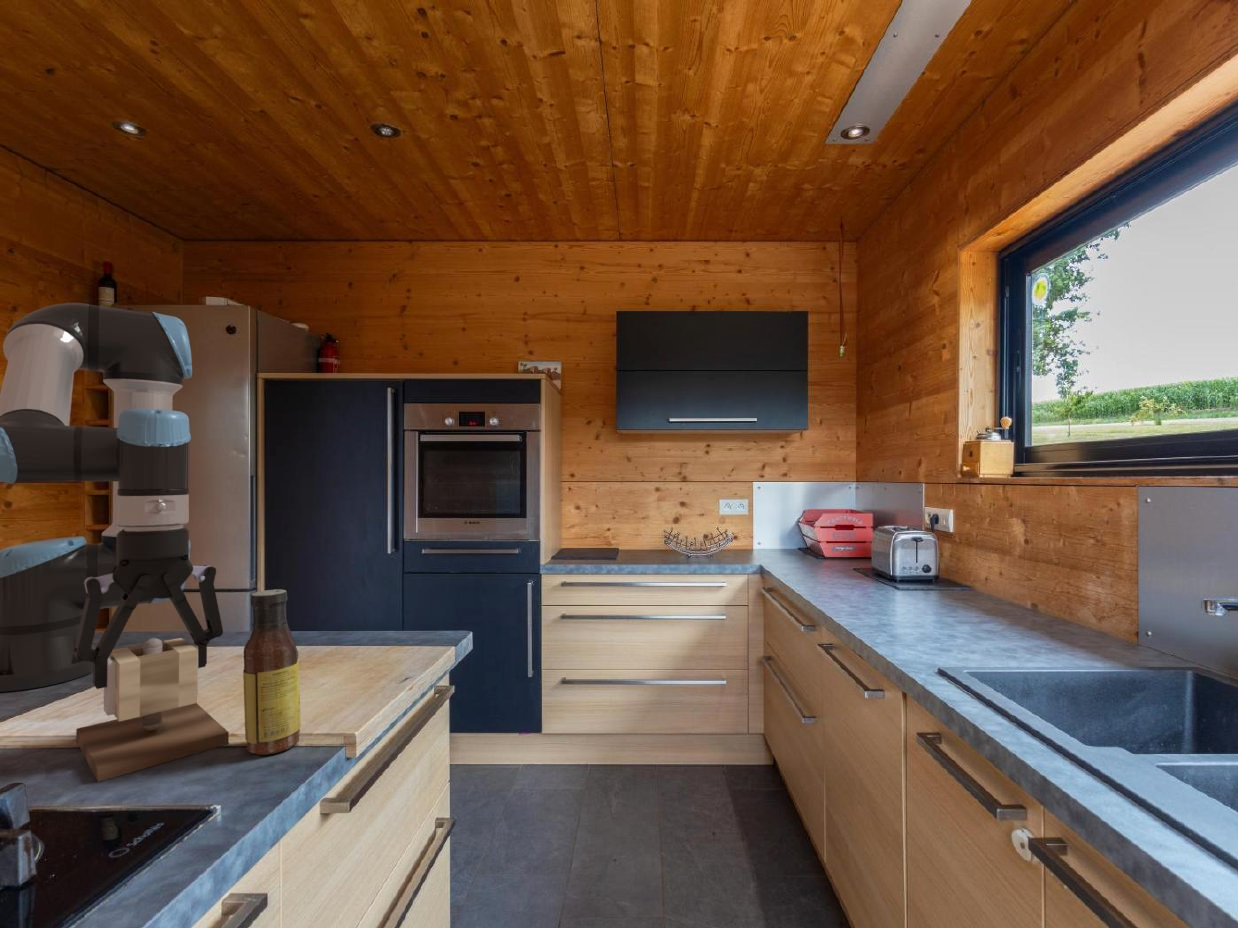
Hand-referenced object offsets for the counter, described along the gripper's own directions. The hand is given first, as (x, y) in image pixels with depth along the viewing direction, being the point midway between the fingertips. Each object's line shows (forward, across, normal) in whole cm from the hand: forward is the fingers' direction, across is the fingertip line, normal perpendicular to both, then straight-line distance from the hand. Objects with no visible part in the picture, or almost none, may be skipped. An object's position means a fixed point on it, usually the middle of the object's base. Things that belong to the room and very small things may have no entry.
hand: (152, 701), depth 79 cm
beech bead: (0, 0, 0) cm, 0 cm away
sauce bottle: (+5, +10, -13) cm, 17 cm away
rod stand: (+5, 0, 0) cm, 5 cm away
